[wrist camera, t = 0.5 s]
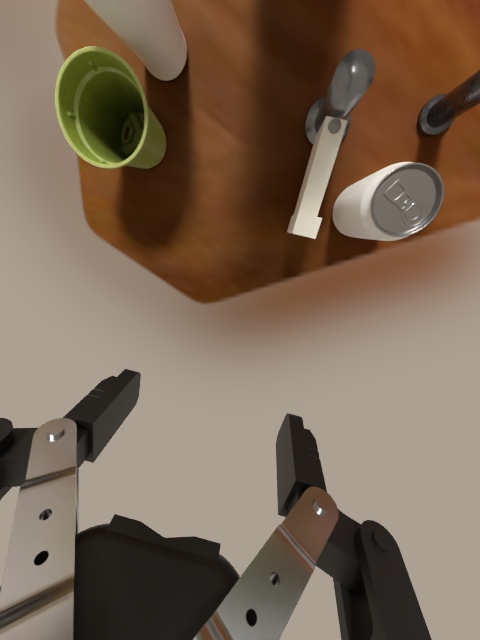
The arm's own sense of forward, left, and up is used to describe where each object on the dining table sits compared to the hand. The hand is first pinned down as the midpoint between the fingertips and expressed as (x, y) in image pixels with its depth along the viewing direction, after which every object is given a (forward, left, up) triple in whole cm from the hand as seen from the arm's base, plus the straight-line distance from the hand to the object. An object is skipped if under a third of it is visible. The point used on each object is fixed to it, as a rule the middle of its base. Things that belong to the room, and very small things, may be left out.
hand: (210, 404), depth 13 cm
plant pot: (-16, -18, -26) cm, 35 cm away
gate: (-15, +4, -24) cm, 28 cm away
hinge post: (-22, +4, -26) cm, 34 cm away
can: (-14, +11, -26) cm, 31 cm away
